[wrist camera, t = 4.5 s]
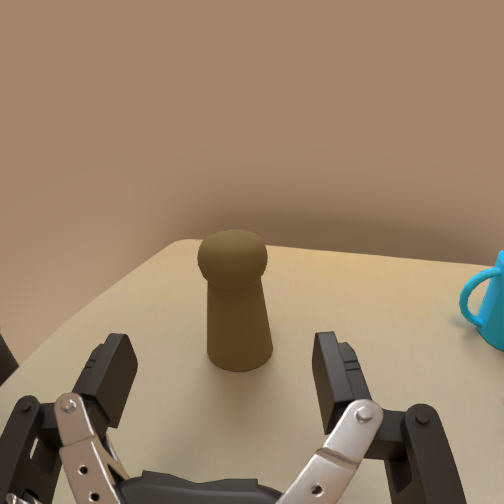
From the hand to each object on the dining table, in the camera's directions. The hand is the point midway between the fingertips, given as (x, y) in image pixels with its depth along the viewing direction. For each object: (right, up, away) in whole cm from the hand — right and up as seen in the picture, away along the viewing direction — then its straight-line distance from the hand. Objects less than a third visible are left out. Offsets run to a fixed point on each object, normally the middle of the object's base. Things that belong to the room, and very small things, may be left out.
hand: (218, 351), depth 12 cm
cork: (0, -5, +15) cm, 15 cm away
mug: (+28, -5, +12) cm, 31 cm away
